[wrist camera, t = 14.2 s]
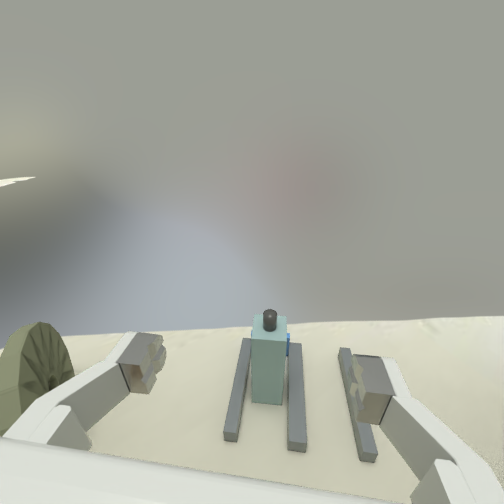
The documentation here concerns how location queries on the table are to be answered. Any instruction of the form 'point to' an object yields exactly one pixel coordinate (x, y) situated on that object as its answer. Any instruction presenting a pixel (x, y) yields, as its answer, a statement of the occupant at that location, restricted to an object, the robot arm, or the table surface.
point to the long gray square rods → (295, 401)
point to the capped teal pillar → (268, 357)
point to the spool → (30, 369)
